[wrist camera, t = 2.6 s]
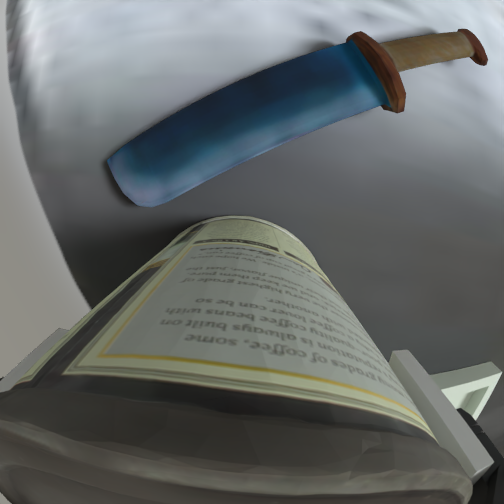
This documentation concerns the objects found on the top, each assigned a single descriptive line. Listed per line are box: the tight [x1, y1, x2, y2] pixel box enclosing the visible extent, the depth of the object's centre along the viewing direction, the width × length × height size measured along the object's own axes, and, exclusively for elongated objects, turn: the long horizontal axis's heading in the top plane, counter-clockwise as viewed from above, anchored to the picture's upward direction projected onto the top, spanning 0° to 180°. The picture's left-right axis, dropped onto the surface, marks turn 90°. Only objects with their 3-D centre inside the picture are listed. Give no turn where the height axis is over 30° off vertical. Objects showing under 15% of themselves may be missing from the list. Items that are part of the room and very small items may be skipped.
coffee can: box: [0, 215, 473, 504], centre depth 9 cm, size 10×10×14 cm
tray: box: [429, 361, 502, 421], centre depth 19 cm, size 16×16×2 cm
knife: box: [107, 29, 488, 207], centre depth 12 cm, size 24×3×5 cm
